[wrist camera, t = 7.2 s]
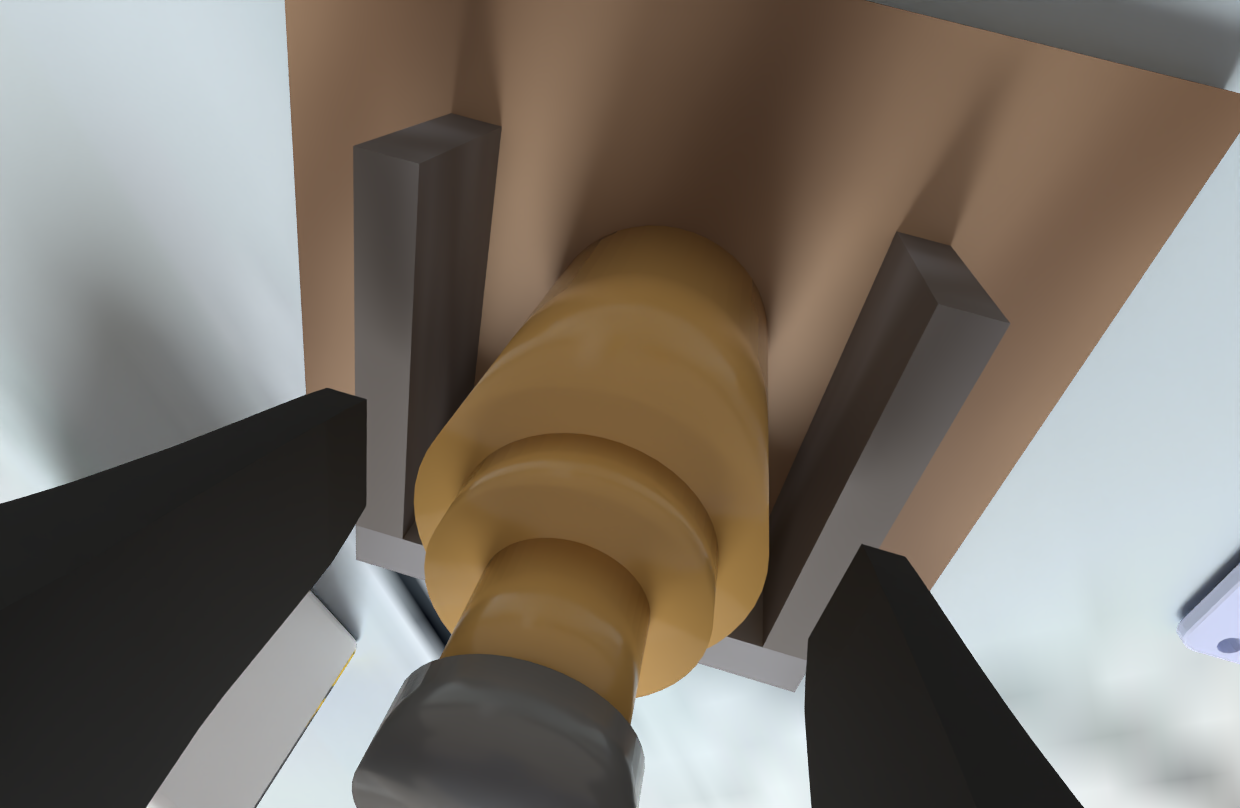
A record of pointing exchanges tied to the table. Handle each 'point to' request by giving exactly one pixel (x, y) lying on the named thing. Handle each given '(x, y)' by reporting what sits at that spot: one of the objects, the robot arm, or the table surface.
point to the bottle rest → (738, 235)
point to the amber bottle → (585, 531)
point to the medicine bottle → (261, 715)
